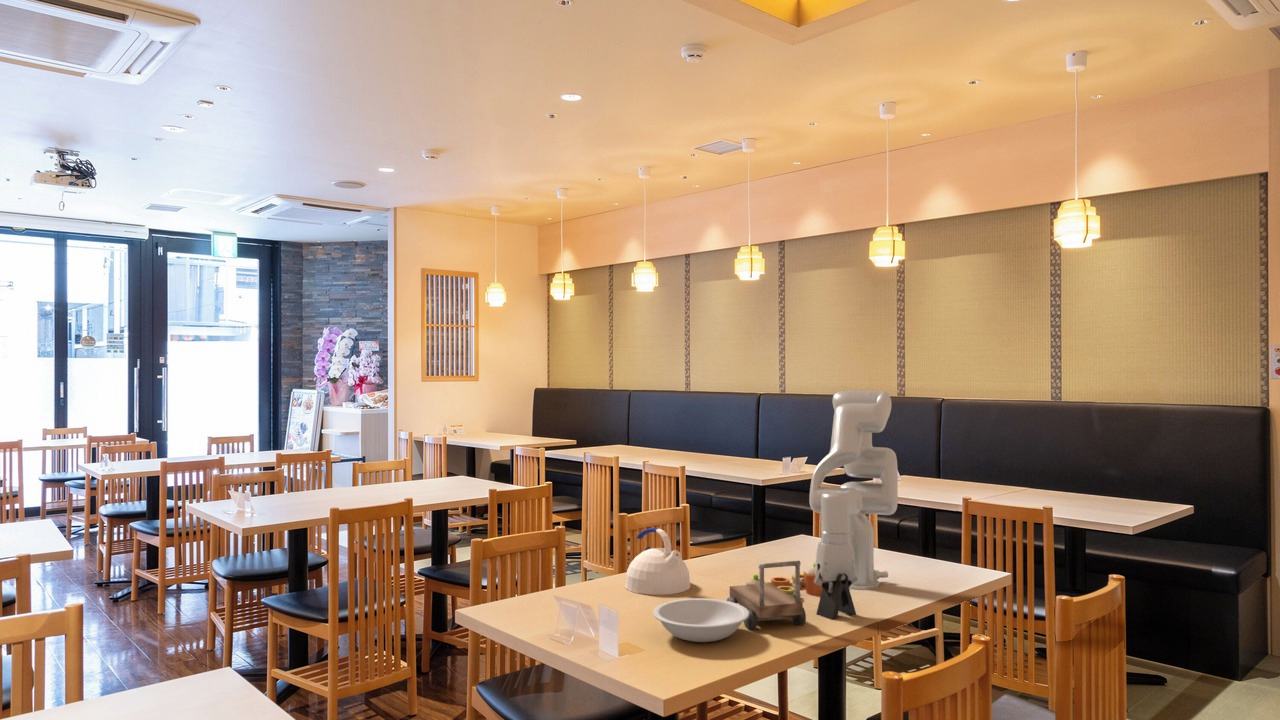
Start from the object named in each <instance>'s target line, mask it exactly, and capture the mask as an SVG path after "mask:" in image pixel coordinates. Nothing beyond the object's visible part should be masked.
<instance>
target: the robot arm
mask: <svg viewBox="0 0 1280 720" xmlns="http://www.w3.org/2000/svg"><path fill="white" fill-rule="evenodd" d="M832 407H833V410H834V411H833V413H834V414H833V421H832V430H831V439H830V440H831V441H830V449H829V453H828V454H826V455H825V456H824V457H823V458H822V460H820V461H819V463H818V464H817V465H816V467H815V468H814V471H813V473H812V475H811V479H810V480H811V481H810V488H809V496H808V497H809V505H810V506H809V507H810V509H811V511H813V512H815V513H817V514H820V526H821V527H820V528H821V529H820V530H821V531H820V533H821V534H820V535H821V536H820V538H821V539H820V540H821V541H819V542H818V544H817V547H816V552H815V562H814V563H815V576H816V577H815V579H814V583H815V584H817V585H819V586H821V587H822V588H823V589H824V590H825V591H826V593H827V595H828V597H829V595H830V593H832V591H833V581H836V578H837V576H838V575H839V574H843V576H842V577H841V581H844V580H845V579H846V577H845V575H844V574H846V575H847V576H848V587H849V590H850V589H851V590H863V591H864V590H865V591H867V590H874V589H877V588H879V587H880V581H879V579H880V578H882V579H884V578H886V579H887V578H889V573H888V571H887V570H884V571H880V570H879V569H878V570H877V569H875V564H874V563H875V562H874V561H875V559H874V557H875V556H874V554H875V553H874V551H875V550H874V548H875V547H874V545H875V543H874V534H875V533H874V527H873V524H872V522H871V521H870V519H869V518H868V517H867V516H866V515H876V516H877V515H882V516H891V515H894V514H895V513H896V511H897V509H898V497H899V495H898V491H899V489H898V484H899V483H898V481H899V479H898V475H899V474H898V473H899V472H898V460H897V459H898V458H897V453H896V452H895V451H894V450H893V449H892V448H889V447H878V446H877V447H876V446H873V433H875V434H876V433H881V432H883V431H884V430H885V428H886V425H887V422H888V421H889V420H888V419H889V418H890V414H891V411H892V399H891V396H890V393H888V392H887V391H884V390H861V389H860V390H857V389H855V390H848V389H847V390H841V391H837V392H835V393H834V394H833V396H832ZM841 467H843V469H844V472H845V474H846V475H847V476H848V477H852V478H861V479H863V478H864V479H865V478H866V479H879V480H880V481H881V482H869V481H867V482H866V481H849V482H848V481H847V482H845V483H843V484H841V486H840V487H839V486H838V487H837V486H823V482H824V480H825V478H826V477H827V476H828V474H830V473H832V472H833V471H834V470H836V469H839V468H841ZM821 579H822V580H823V581H824V582H822V581H821ZM840 606H842V607H845V594H844V592H842V593H841V599H840Z"/></svg>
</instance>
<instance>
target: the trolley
mask: <svg viewBox="0 0 1280 720" xmlns="http://www.w3.org/2000/svg"><path fill="white" fill-rule="evenodd" d="M783 567H794V575H795V598H794V597H792V596H791V595H789V594H787V593H786V592H784V591H782V590H781V589H779V588H777V587H775V586H774V585H772V584H770V583H771V582H770V583H767V582H766V583H764V581H765V569H772V568H783ZM758 573H759V574H758V579H759V584H753V585H746V584H745V585H744V584H743V585H732V586H729V597H727V599H726V601H729V602H733V603H737V604H739V605H742V606H743V607H745V608H746V609H747V610H748V611H749V617H748V618H747V619H746V620H745V621H743V623H744V627H745V628H746V629H747V630H748V631H754V630H756V629H757V625H758V623H757V622H765V621H775V620H776V621H777V620H785V619H792V620H793V623H795V624H796V625H798V626H803V625H805V624H806V620H807V617H806V616H807V614H806V610H805V608H804V606H803V602H802V601H801V597H800V594H801V589H800V574H801V561H800V560H788V561H778V562H764V563H758Z"/></svg>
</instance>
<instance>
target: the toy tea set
mask: <svg viewBox="0 0 1280 720" xmlns="http://www.w3.org/2000/svg"><path fill="white" fill-rule="evenodd" d="M815 577H816V576H815V562H813V566H809V567H808V568H807V569H805V570H804V571H803V573H800V590H805V594H807V595H809V596H815V597H818V596H820V597H821V593H822V589H823V588H822V587H821V586H819V585H817V584H815V583H814V579H815ZM791 580H792V582H791ZM791 580H790V579H789V578H788V577H783V576H778V577H771V578H770V581H767V582H766V581H765V580H764V583H770V584H772V585H774V586H775V587H777V588H779V589H781V590H782V591H784V592H786V593H787V594H789V595H791V596H792V597H794V598H795V574H793V575H792V576H791ZM821 581H822V582H824V581H823V580H822V579H821ZM753 584H759V574H753V576H752V578H751V579H750V580H747V581H746V583H745V585H753ZM801 597H802V594H801V593H800V598H801Z"/></svg>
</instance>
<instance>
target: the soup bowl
mask: <svg viewBox="0 0 1280 720" xmlns="http://www.w3.org/2000/svg"><path fill="white" fill-rule="evenodd" d="M652 614H653V616H654V618H655V619H656V620H658V621H660V623H661V624H662V626H663V627H664V629H666V630H667V631H668V632H669V633H670V634H671V635H673V636H674V637H676V638H678V639H680V640H685V641H688V642H696V643H709V642H710V643H711V642H716V641H721V640H723V639H726V638H728V637H730V636H732V635H733V634H734V633H735V632H736V631H737V630H738V629H739V627H740V626H741V624H742V623H744V621H745V620H746V619H747V618H748V617H749V611H748V610H747V609H746V608H745V607H743V606H742V605H739V604H737V603H733V602H729V601H727V600H724V599H717V598H716V599H715V598H700V597H699V598H698V597H697V598H696V597H695V598H681V599H674V600H670V601H666V602H663V603H661V604H659V605H657V606H655V607H654V609H653V612H652Z"/></svg>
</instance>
